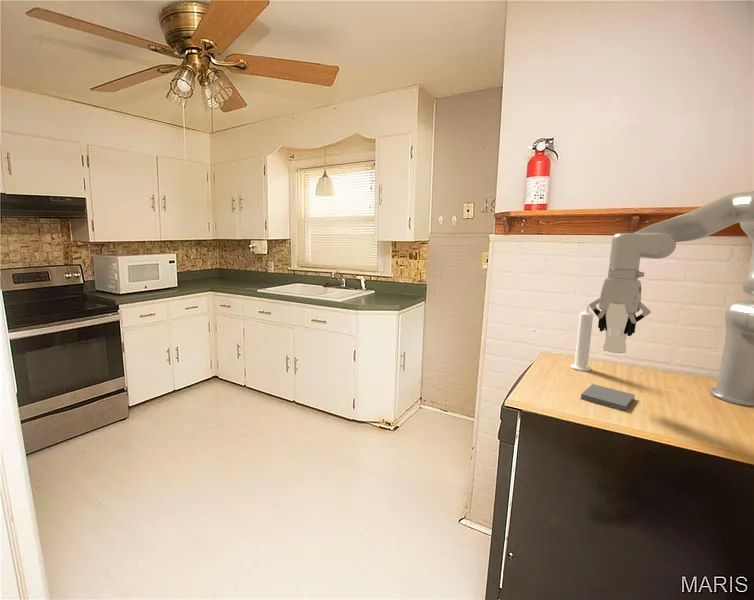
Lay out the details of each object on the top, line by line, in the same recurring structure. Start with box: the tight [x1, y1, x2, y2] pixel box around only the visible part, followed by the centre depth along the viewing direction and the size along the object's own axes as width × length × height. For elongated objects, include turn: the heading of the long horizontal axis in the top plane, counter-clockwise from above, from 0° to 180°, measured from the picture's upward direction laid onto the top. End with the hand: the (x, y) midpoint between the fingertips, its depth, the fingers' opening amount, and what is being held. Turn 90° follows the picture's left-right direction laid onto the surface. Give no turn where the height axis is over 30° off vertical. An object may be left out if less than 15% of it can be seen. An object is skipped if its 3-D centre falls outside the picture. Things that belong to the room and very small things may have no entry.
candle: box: [570, 305, 594, 372], centre depth 144 cm, size 7×7×25 cm
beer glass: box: [602, 303, 631, 354], centre depth 114 cm, size 7×7×15 cm
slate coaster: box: [580, 383, 636, 412], centre depth 118 cm, size 12×12×2 cm
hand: (615, 332), depth 114 cm, fingers closed on beer glass, 6 cm apart
